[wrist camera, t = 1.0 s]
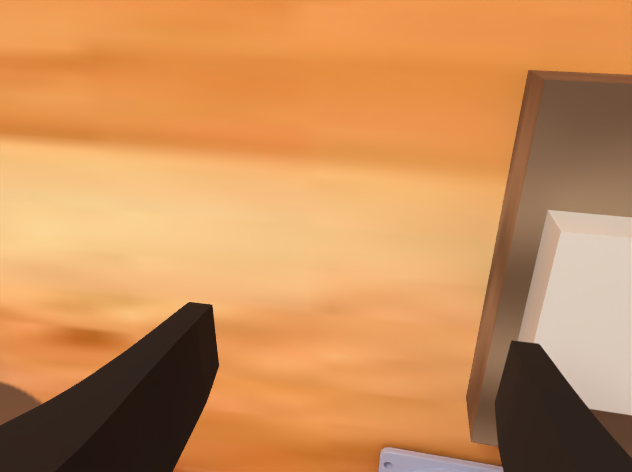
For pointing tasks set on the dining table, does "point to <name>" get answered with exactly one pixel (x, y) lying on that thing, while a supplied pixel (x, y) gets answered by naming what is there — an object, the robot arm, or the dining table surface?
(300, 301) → the dining table surface
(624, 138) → the walnut board
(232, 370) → the dining table surface
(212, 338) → the robot arm
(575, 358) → the coaster
